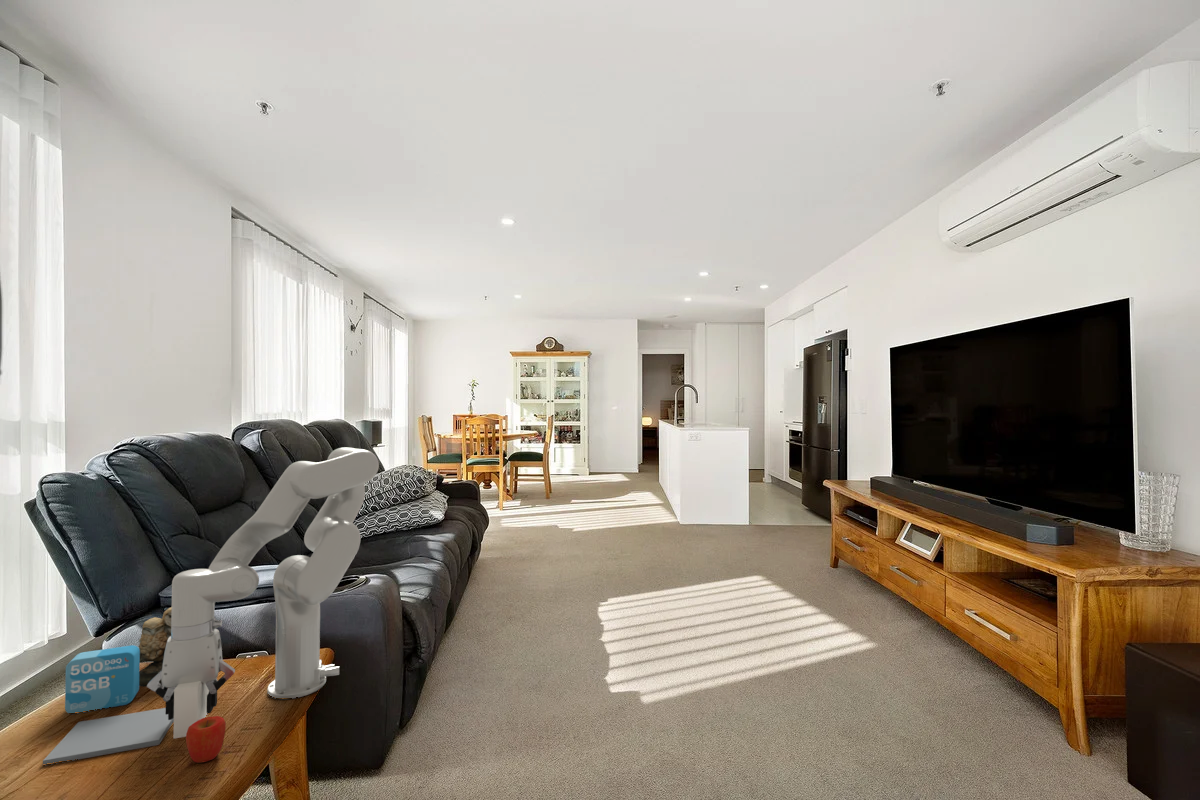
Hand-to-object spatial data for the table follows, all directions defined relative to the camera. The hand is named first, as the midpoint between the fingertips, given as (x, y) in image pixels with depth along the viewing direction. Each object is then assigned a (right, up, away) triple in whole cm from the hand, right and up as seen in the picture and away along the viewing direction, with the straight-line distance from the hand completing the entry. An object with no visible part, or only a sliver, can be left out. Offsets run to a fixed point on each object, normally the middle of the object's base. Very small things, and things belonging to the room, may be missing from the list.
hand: (191, 712), depth 120 cm
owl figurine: (-21, -3, +23) cm, 31 cm away
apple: (+11, -3, -12) cm, 16 cm away
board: (-12, -2, -4) cm, 13 cm away
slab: (0, -3, 0) cm, 3 cm away
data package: (-26, -3, +8) cm, 27 cm away
